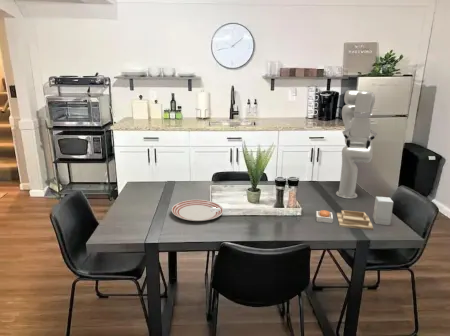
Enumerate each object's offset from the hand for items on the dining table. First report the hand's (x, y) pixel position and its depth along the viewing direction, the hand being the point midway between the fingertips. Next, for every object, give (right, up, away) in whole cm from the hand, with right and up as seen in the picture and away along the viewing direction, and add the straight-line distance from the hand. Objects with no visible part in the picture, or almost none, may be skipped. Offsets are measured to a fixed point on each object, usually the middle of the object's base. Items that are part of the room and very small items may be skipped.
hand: (357, 147), depth 193 cm
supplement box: (+10, -39, -5) cm, 41 cm away
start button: (-19, -36, -4) cm, 41 cm away
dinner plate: (-85, -36, 0) cm, 93 cm away
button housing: (-19, -38, -3) cm, 42 cm away
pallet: (-4, -39, -6) cm, 39 cm away
